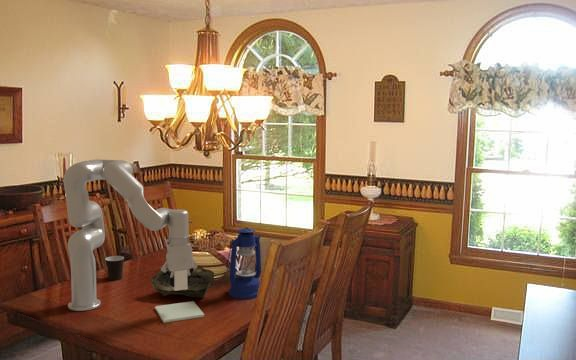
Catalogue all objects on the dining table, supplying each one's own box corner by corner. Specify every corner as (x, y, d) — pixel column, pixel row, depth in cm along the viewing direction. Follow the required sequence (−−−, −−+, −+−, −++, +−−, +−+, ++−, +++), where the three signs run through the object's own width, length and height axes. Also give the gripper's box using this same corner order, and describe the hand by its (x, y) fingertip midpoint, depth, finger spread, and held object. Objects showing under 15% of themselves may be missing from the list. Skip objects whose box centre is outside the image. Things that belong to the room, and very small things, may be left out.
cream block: (172, 287, 213) (171, 267, 212) (184, 285, 215) (184, 266, 214) (175, 290, 208) (174, 271, 207) (187, 289, 210) (187, 269, 210)
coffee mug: (121, 281, 250) (120, 261, 249) (102, 281, 250) (102, 260, 249) (128, 274, 262) (128, 254, 260) (111, 273, 262) (111, 254, 260)
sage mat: (155, 308, 217) (155, 306, 217) (193, 303, 224) (193, 301, 223) (163, 322, 202) (163, 320, 202) (204, 316, 209) (204, 314, 209)
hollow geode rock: (214, 309, 230) (224, 278, 239) (206, 296, 220) (217, 264, 229) (156, 300, 237) (167, 270, 246) (146, 287, 227) (158, 257, 236)
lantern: (239, 302, 227) (240, 233, 223) (219, 292, 238) (220, 227, 234) (271, 293, 238) (272, 228, 234) (250, 285, 249) (251, 222, 246)
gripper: (159, 245, 202) (160, 291, 205) (202, 241, 210) (203, 285, 212) (155, 240, 209) (156, 285, 211) (197, 237, 216) (197, 280, 219)
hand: (179, 285), depth 212 cm, fingers closed on cream block, 5 cm apart
